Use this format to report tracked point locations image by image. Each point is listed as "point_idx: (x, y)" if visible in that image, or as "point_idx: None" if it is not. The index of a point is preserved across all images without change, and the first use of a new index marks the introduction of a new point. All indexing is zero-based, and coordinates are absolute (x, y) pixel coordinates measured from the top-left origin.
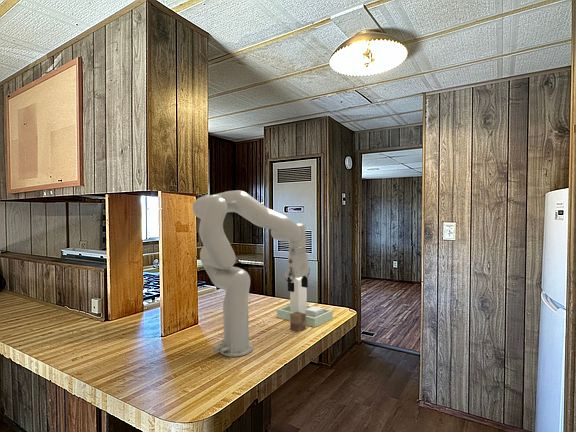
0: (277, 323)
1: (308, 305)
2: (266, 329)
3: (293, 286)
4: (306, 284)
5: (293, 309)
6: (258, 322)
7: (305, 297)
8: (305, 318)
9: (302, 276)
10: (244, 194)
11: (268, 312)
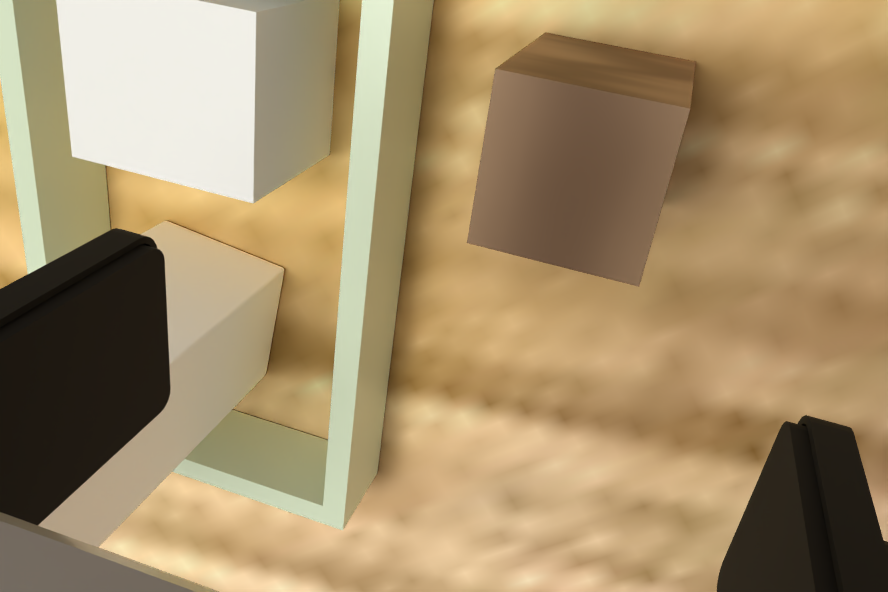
0: (533, 409)
1: (30, 269)
2: (761, 447)
3: (881, 554)
4: (104, 281)
5: (230, 376)
6: (595, 578)
7: None
8: (527, 57)
9: (189, 582)
10: None
11: (307, 579)
